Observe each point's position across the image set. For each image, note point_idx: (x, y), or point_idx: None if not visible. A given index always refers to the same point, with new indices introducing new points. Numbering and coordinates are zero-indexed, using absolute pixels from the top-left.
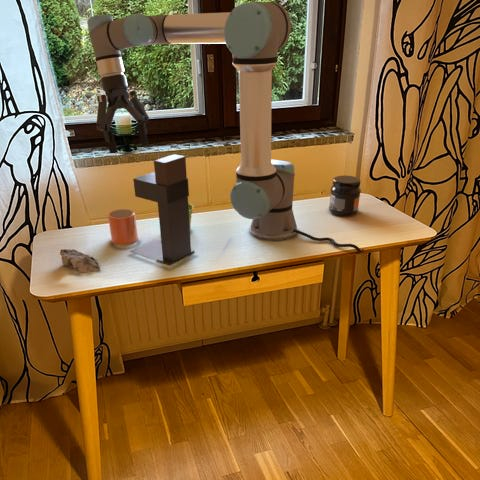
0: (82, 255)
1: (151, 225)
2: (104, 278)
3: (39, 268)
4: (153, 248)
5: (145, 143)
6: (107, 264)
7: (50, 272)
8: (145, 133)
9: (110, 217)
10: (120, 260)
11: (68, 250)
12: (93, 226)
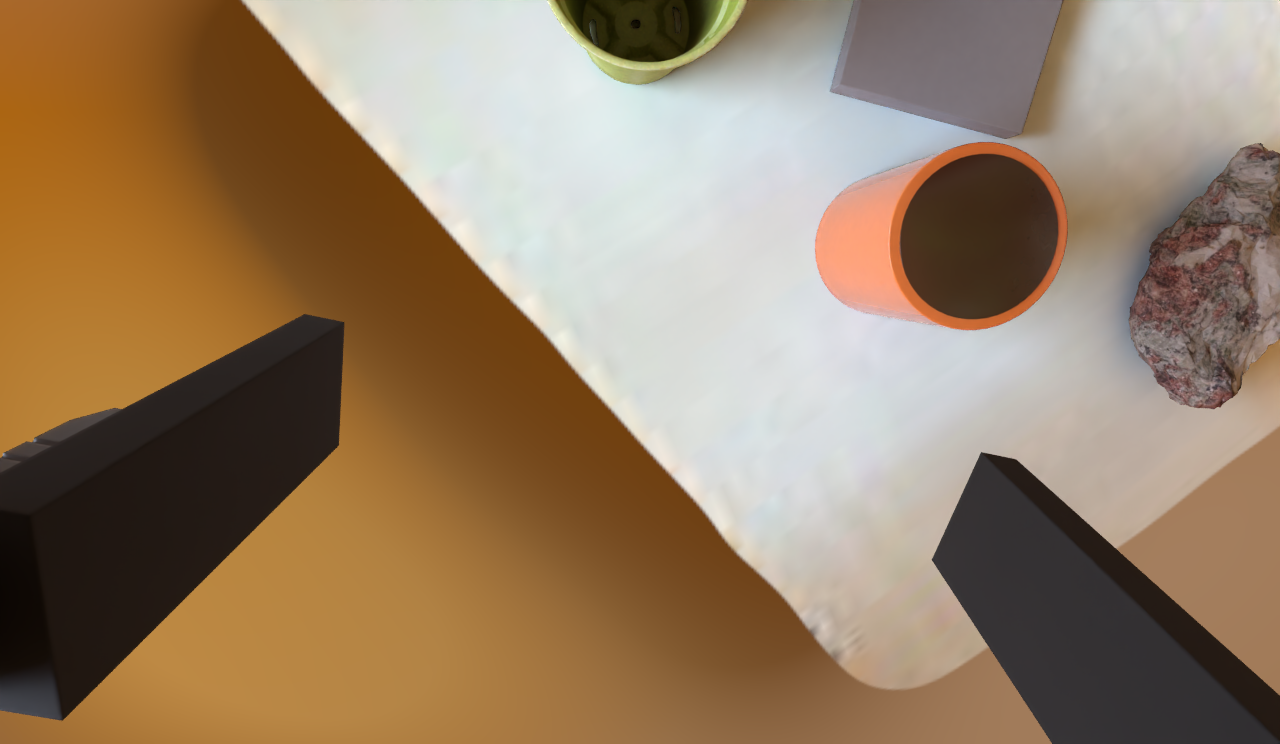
0: (1244, 265)
1: (608, 252)
2: (1252, 112)
3: (1230, 451)
4: (952, 22)
5: (328, 361)
6: (1120, 187)
7: (1253, 381)
8: (198, 388)
9: (1059, 266)
10: (1064, 152)
11: (1207, 370)
12: (740, 535)
